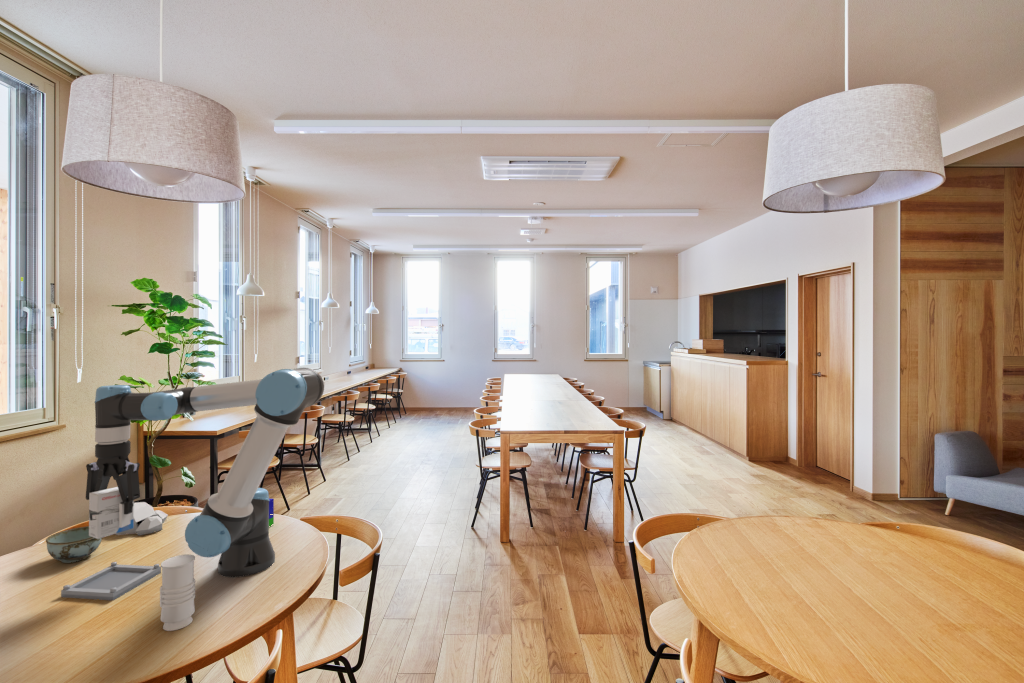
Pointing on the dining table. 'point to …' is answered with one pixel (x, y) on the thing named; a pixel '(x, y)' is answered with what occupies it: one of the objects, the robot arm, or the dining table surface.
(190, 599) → the white ribbed cylinder
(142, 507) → the rock
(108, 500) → the ink box
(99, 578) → the grey square tray
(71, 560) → the bowl
